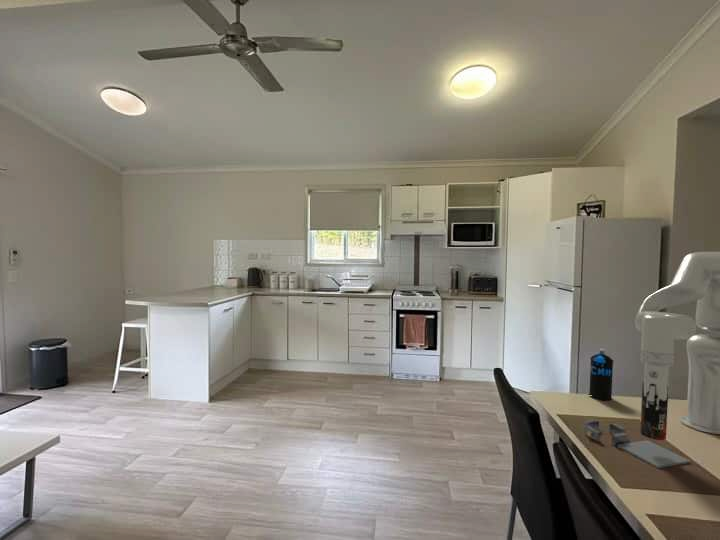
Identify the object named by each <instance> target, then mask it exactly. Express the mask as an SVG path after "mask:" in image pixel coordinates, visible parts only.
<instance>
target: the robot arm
mask: <svg viewBox="0 0 720 540" xmlns="http://www.w3.org/2000/svg"><path fill="white" fill-rule="evenodd" d="M693 302H696V308H695V309H696V311H695V319H694V318H692V317H691V316H689V315H685V314H681V313H672V312H666V311H661V310H663V309H664V310H665V308H666V309H667V308H669V307H673V306H674V307H675V306H679V305H684V304H688V303H693ZM634 325H635V327H636V330H637V331H638V332H640V333H641V342H640V344H641V345H640V359H639V361H641V362H642V363H644V375H643V376H644V377H643V382H644V396H645V397H647V403H646V408H645V420H646V421H648V422H652V423H656V424H659V419H660V410H659V401H660V399H661V400H662V401H665V400H666V399H667V390H668V396H669V395H670V367H674V361H675V360H674V359H675V341H676V340H678V341H685V340H687V341H686V346H685V347H686V353H687V360H688V361H687V362H688V379H687V380H688V381H687V402H686V403H687V404H686V405H687V406H686V415H682V416H680V422H681V423H682V424H683V425H685V426H687V427H688V428H691V429H693V430H696V431H699V432H704V433H709V434H713V435H720V335H719V336H717V335H712V334H706V333H705V334H701V333H699V334H696V333H697V330H698V328H699V329H701V330H703V331H710V332H715V333H720V251H697V252H696V251H695V252H691V253H688V254H686V255H685V256H684V257H683V259H682V260H681V263H680V265H679V266H678V268H677V270H676V273H675V275H674V277H673V278H672V281H671V283H670V284H669V285H667V286H665V287H663V288H660V289H659V290H656V291H655V292H654V293H652V294H650V295H649V296H648V297H646V298H645V299H644V300H643V302H642V303H641V306H640V307H639V309H638V311H637V313H636V317H635V323H634ZM667 387H669V388H667ZM646 393H647V394H646ZM655 396H657V397H658V398H655ZM654 401H657V402H654Z"/></svg>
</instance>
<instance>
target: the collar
mask: <svg viewBox="0 0 720 540" xmlns="http://www.w3.org/2000/svg"><path fill="white" fill-rule="evenodd" d="M599 427H600V420H597V419H590V420H585V424H584V430H585V434H584V435H585V437H588V439H591V440H592V441H595V442H597V443H599V442H601V435H602V434H601V431H599V429H600V428H599ZM609 433H610V434H611V445H613V446H615V447H617V445H619V444H626V443H628V440H627V439H628V436H627V435H628V434H627V433H626V428H624V427H623V426H621V425H619V424H616V423H614V422H609Z"/></svg>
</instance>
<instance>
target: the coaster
mask: <svg viewBox="0 0 720 540" xmlns="http://www.w3.org/2000/svg"><path fill="white" fill-rule="evenodd" d="M616 447H617V448H619V449H621V450H623V451H624V452H626V453H628V454H630V455H632V456H634V457H636V458H638V459H639V460H642V461H644V462H645V463H647V464H648V465H650V466H653V467H654V468H656V469H663V468H667V467H674V466H679V465H684V464H689V463H691V460H689V459H688V458H685V457H683V456H681V455H679V454H677V453H675V452H673V451H671V450H669V449H667V448H665V447H662V446H660V445H658V444H656V443H654V442H652V441H650V440H648V439H647V440H640V441H634V442H627V443H626V444H619V445H617V446H616Z"/></svg>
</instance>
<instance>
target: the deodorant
mask: <svg viewBox="0 0 720 540" xmlns="http://www.w3.org/2000/svg"><path fill="white" fill-rule="evenodd" d="M641 385H642V386H641V389H642V390H641V409H640V427H639V428H640V430H639V431H640V434H641V435H642V436H643V437H646V438H648V439H651V440H655V441H666V440H667V426H668V425H667V424H668V403H669V395H668V390H667V399H666V400H665V401H662V400H661V399H660V401H659V410H660V419H659V424H656V423H652V422H648V421H646V420H645V408H646V403H647V397H645V396H644V381H642V384H641ZM667 388H669V389H670V386H669V387H667ZM646 394H647V393H646ZM655 398H658V397H657V396H655ZM654 402H657V401H654Z"/></svg>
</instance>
